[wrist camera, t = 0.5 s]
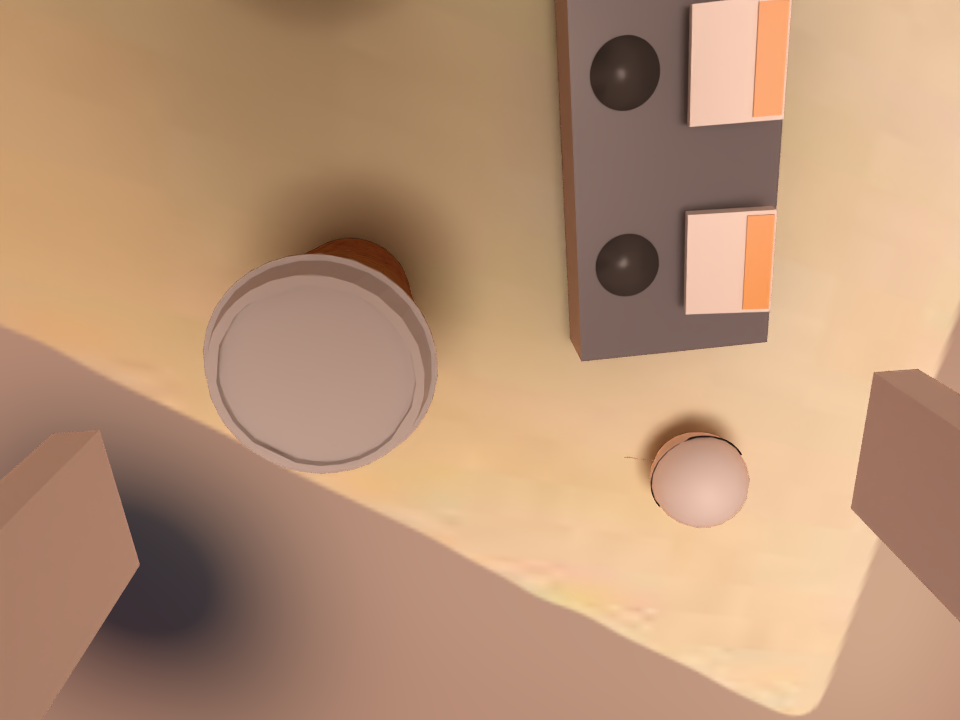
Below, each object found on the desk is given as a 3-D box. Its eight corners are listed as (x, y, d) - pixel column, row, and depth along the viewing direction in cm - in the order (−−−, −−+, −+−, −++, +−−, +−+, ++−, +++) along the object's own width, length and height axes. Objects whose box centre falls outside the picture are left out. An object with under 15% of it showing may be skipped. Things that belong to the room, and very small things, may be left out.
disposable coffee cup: (452, 225, 37) (456, 285, 26) (424, 384, 41) (417, 497, 29) (273, 192, 36) (197, 241, 25) (260, 358, 40) (188, 466, 28)
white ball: (746, 439, 43) (787, 488, 38) (690, 506, 45) (723, 562, 40) (648, 383, 41) (678, 427, 36) (595, 455, 43) (616, 507, 38)
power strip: (542, -273, 29) (555, -319, 26) (773, -295, 30) (816, -343, 26) (570, 338, 40) (582, 362, 37) (740, 320, 40) (768, 342, 37)
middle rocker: (689, 5, 30) (692, 3, 29) (786, -5, 30) (792, -8, 29) (687, 125, 32) (690, 127, 31) (777, 117, 31) (784, 119, 30)
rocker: (685, 211, 34) (688, 215, 33) (772, 205, 33) (777, 210, 32) (683, 308, 36) (686, 315, 35) (765, 305, 35) (770, 312, 34)
